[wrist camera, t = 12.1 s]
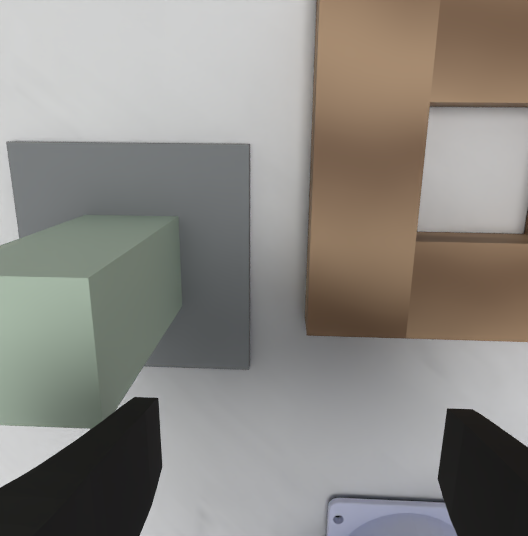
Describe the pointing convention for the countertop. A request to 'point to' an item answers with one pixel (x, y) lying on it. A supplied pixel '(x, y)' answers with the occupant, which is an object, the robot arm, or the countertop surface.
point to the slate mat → (159, 204)
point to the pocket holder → (407, 170)
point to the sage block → (83, 315)
